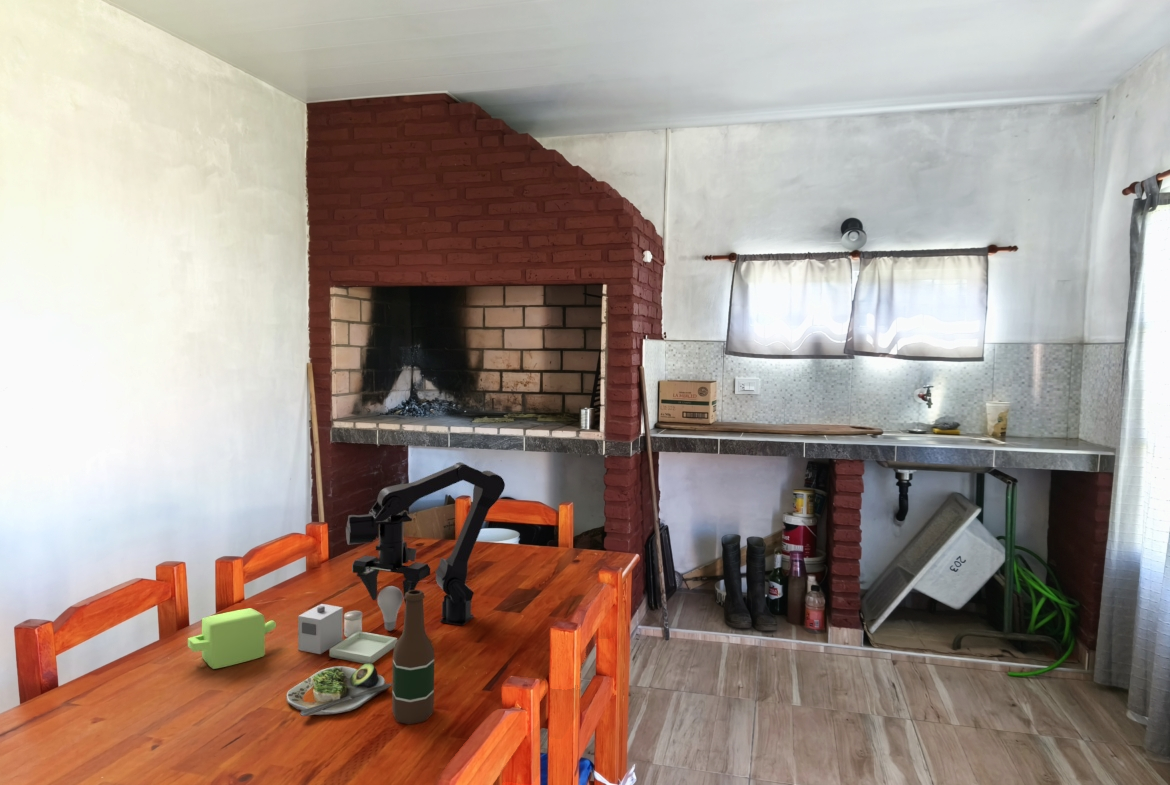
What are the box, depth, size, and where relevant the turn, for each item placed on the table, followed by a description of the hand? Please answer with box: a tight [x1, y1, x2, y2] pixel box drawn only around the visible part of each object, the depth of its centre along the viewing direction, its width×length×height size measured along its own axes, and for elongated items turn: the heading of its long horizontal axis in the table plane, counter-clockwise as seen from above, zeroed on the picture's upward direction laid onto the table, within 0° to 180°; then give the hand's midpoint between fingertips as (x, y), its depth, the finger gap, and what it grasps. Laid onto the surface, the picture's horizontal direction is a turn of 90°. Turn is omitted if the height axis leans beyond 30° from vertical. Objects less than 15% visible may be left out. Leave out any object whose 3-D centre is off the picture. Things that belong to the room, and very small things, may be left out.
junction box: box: [297, 603, 344, 655], centre depth 164 cm, size 6×9×9 cm
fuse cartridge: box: [343, 610, 363, 638], centre depth 171 cm, size 4×4×5 cm
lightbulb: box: [376, 585, 404, 632], centre depth 173 cm, size 6×6×11 cm
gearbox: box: [187, 607, 277, 670], centre depth 158 cm, size 18×10×10 cm, turn 134°
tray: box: [329, 631, 398, 665], centre depth 162 cm, size 11×11×2 cm
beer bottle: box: [391, 589, 435, 726], centre depth 134 cm, size 8×8×24 cm
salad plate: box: [285, 663, 393, 717], centre depth 141 cm, size 19×18×5 cm
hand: (390, 602), depth 173 cm, fingers open, 9 cm apart
